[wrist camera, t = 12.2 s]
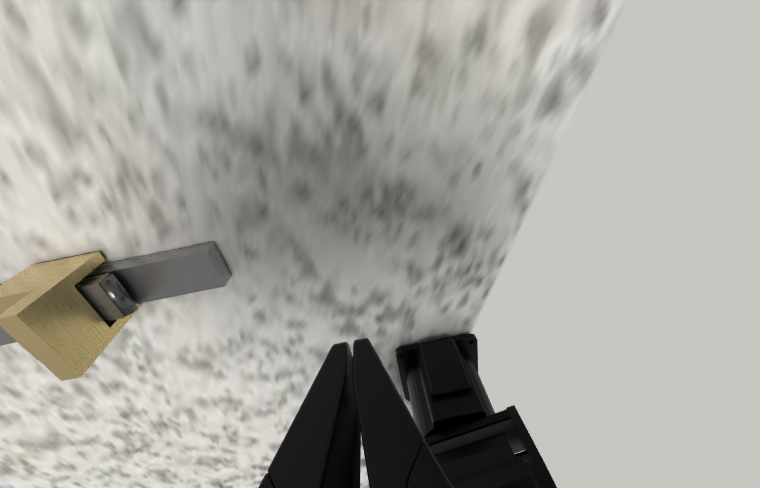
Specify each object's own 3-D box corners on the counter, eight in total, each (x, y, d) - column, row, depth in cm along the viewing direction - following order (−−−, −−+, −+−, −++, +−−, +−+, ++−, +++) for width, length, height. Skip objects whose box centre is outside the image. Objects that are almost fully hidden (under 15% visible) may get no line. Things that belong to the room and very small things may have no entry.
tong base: (211, 236, 19) (203, 246, 17) (233, 278, 20) (227, 290, 19) (-124, 303, 19) (-152, 318, 18) (-76, 340, 20) (-98, 355, 19)
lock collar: (98, 251, 18) (15, 315, 14) (140, 306, 20) (81, 377, 16) (31, 265, 18) (-74, 332, 14) (80, 318, 20) (4, 392, 16)
